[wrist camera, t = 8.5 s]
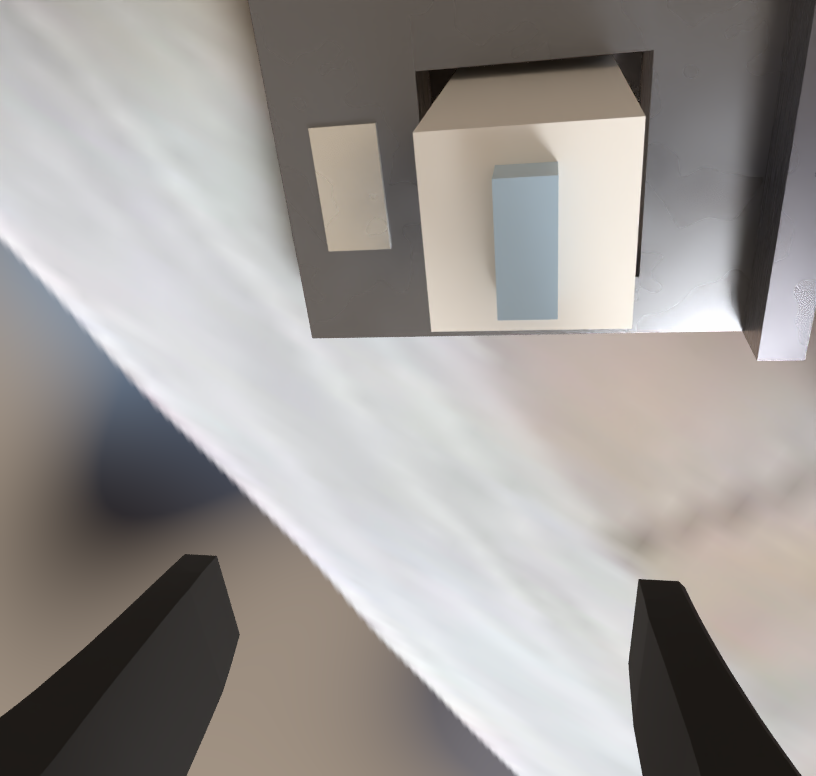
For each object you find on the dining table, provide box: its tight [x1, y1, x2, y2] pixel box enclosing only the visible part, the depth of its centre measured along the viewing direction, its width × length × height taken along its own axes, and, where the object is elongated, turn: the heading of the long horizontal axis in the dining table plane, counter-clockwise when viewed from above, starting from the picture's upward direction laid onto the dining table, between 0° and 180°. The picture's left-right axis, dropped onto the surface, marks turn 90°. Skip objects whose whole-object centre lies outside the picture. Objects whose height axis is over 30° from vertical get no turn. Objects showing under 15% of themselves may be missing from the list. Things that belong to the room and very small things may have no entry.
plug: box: [413, 54, 646, 332], centre depth 15 cm, size 4×4×8 cm
